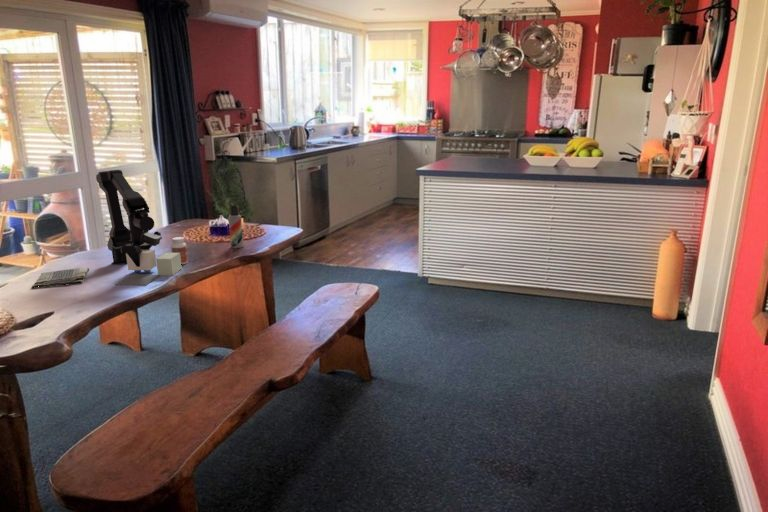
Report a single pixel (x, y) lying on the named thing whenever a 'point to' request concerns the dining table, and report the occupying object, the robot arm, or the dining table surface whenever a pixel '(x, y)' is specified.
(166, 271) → the pale green block
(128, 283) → the slate mat
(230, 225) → the lotion bottle
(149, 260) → the upright cream box
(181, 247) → the pill bottle
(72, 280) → the dish towel
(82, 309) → the dining table surface
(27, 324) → the dining table surface
